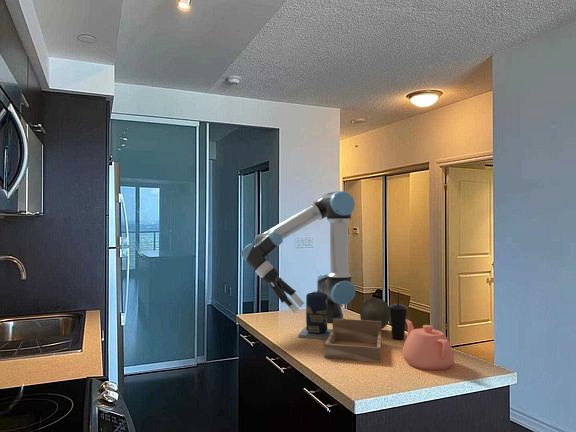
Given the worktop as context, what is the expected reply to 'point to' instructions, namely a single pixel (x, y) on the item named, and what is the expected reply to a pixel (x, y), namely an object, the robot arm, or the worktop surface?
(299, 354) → the worktop surface
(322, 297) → the canister
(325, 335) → the slate tile
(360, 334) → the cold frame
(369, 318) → the kiwi fruit
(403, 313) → the drinking cup
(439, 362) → the teapot
